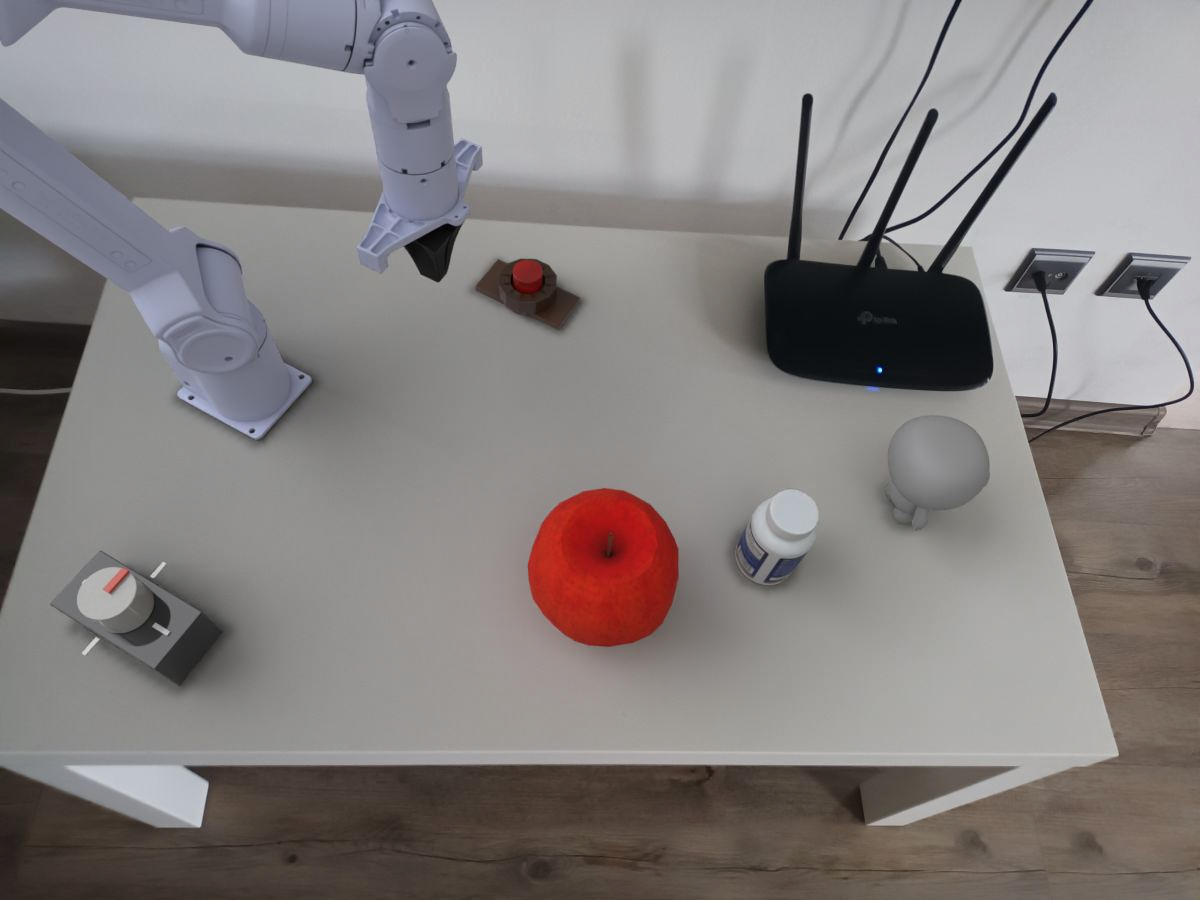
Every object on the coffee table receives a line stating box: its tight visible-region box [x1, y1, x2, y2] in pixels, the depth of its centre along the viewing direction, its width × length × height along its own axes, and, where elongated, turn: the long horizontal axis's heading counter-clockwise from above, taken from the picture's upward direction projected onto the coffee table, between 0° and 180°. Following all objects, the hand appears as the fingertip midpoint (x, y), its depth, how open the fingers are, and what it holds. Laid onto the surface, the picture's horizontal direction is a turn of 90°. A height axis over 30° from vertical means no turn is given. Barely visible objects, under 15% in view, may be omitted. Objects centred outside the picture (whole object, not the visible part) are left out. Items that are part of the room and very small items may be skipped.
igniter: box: [475, 258, 581, 331], centre depth 84 cm, size 10×6×2 cm, turn 62°
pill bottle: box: [734, 488, 820, 586], centre depth 68 cm, size 5×5×10 cm
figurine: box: [885, 414, 991, 531], centre depth 71 cm, size 8×8×12 cm
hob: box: [49, 550, 224, 687], centre depth 63 cm, size 10×8×5 cm
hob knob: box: [77, 567, 154, 633], centre depth 59 cm, size 4×4×4 cm
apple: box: [527, 487, 680, 648], centre depth 63 cm, size 12×12×13 cm
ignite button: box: [513, 260, 543, 294], centre depth 83 cm, size 3×3×2 cm
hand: (433, 273), depth 72 cm, fingers closed
